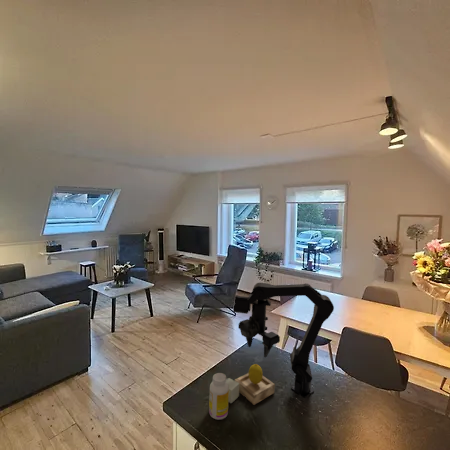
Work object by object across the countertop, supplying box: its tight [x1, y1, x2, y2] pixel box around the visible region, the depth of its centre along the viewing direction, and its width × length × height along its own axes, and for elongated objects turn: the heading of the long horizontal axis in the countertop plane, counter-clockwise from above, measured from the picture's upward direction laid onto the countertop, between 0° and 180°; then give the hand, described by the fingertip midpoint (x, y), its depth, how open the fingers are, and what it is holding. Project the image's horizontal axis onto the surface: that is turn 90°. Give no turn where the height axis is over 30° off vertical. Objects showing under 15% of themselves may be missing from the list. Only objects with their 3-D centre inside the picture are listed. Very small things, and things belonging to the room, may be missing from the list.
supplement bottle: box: [208, 372, 229, 420], centre depth 88 cm, size 7×7×13 cm
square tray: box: [234, 372, 276, 406], centre depth 100 cm, size 11×11×4 cm
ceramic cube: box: [226, 377, 240, 404], centre depth 96 cm, size 5×5×5 cm
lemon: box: [248, 363, 264, 384], centre depth 100 cm, size 6×6×8 cm
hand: (257, 351), depth 104 cm, fingers open, 9 cm apart
